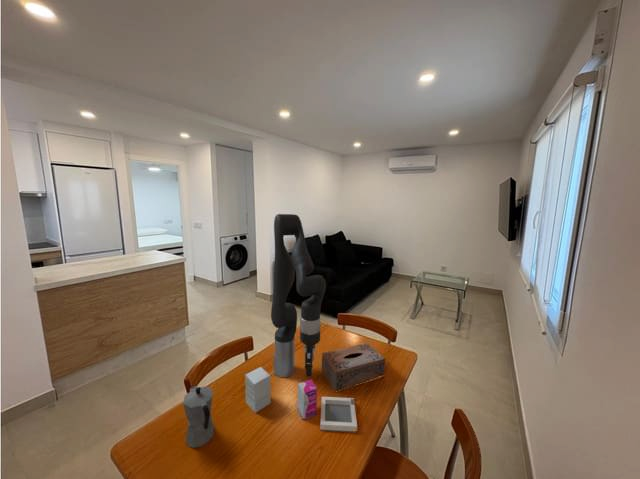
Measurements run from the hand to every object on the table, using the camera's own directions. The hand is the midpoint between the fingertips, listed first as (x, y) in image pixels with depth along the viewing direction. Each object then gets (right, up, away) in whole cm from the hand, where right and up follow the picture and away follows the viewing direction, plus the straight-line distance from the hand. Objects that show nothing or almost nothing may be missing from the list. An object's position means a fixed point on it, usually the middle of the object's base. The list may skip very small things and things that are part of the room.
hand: (309, 368), depth 95 cm
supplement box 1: (-21, -17, +6) cm, 28 cm away
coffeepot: (-37, -19, -9) cm, 42 cm away
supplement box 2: (-1, -18, +2) cm, 19 cm away
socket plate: (+11, -19, +1) cm, 22 cm away
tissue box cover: (+19, -16, +25) cm, 35 cm away
